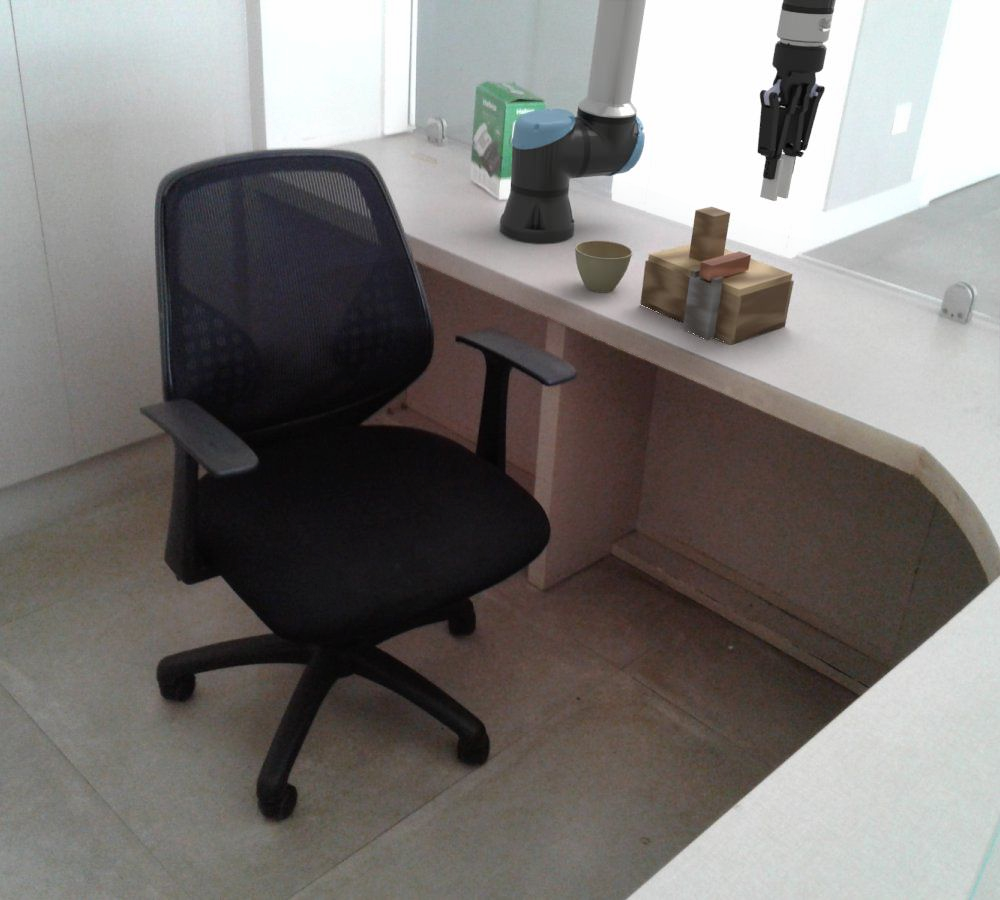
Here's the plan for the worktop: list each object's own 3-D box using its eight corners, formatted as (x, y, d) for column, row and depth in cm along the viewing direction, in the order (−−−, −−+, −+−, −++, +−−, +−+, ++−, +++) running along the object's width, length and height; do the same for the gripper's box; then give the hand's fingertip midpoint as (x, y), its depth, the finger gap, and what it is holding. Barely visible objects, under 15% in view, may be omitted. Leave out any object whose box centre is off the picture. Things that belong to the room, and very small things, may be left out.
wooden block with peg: (648, 260, 176) (654, 207, 172) (701, 247, 184) (708, 195, 179) (738, 296, 163) (747, 239, 159) (791, 280, 171) (801, 225, 166)
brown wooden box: (632, 307, 179) (639, 249, 174) (694, 289, 188) (702, 234, 183) (722, 347, 166) (733, 286, 161) (784, 326, 175) (796, 268, 170)
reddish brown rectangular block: (698, 276, 166) (700, 261, 165) (737, 266, 171) (739, 251, 170) (709, 281, 164) (711, 265, 163) (748, 270, 170) (750, 255, 169)
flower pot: (619, 301, 181) (624, 262, 178) (564, 291, 184) (568, 252, 180) (634, 283, 189) (638, 245, 186) (581, 274, 192) (584, 236, 189)
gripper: (790, 48, 150) (762, 210, 161) (852, 42, 158) (821, 196, 170) (749, 40, 155) (724, 198, 166) (811, 35, 163) (784, 185, 175)
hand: (774, 197), depth 168 cm, fingers open, 2 cm apart
